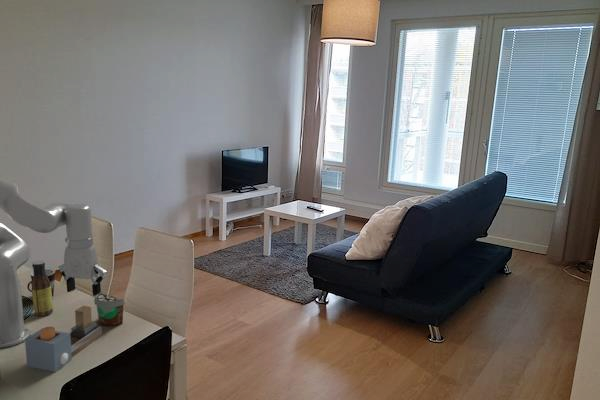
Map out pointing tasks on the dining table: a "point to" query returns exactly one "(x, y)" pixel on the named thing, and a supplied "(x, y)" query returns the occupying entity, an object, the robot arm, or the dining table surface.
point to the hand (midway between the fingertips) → (84, 292)
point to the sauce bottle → (41, 290)
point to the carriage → (83, 322)
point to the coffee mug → (50, 276)
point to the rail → (84, 340)
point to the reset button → (47, 333)
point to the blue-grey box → (48, 351)
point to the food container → (109, 310)
